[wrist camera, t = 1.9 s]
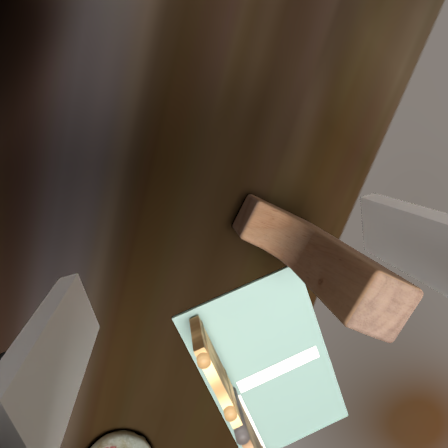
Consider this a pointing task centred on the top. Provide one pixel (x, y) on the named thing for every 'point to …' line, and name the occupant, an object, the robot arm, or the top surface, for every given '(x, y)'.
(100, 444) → the bottle
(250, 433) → the fence fixed leg
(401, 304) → the wooden block
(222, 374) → the fence panel
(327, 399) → the board
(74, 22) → the top surface
